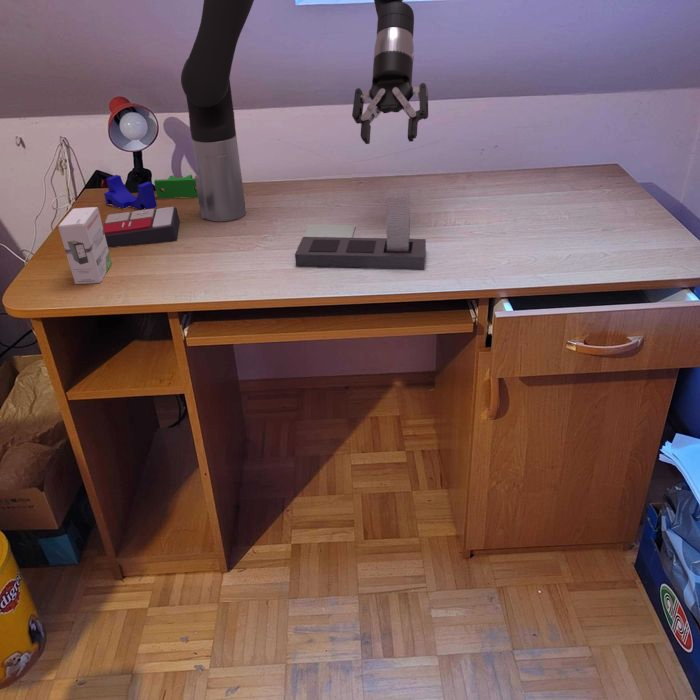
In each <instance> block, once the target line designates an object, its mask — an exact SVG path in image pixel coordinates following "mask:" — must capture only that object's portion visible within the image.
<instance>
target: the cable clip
mask: <svg viewBox="0 0 700 700" xmlns="http://www.w3.org/2000/svg"><path fill="white" fill-rule="evenodd" d="M105 180H106V184H107V188H108V191H106V192H104V193H103V194H104V199H105V202H106V205H107V204H112V205H113V206H112V207H114V206H116V207H115V208H118V207H120V208H119V209H122V208H126V207H128V206H131V207H130V208H132V207H135V208H134V209H136V208H139V209H138V210H140V209H144V208H145V210H146V209H152V208H154V209H156V208H157V207H158V206H157V205H158V204H157V199H156V195H155V192H154V185H153V182H150V181H146V182H143V183H141V184H138V185H137V196H135V195H134V194H132V193H131V192H130V191H129V190H128V189H127V188H126V186H125V184H124V183H123V179H122V177H121V175H118V174H115V175H112V176H109V177H107V178H105ZM156 206H157V207H156ZM155 207H156V208H155ZM128 208H129V207H128ZM126 209H127V208H126Z"/></svg>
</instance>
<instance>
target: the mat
mask: <svg viewBox="0 0 700 700" xmlns="http://www.w3.org/2000/svg"><path fill="white" fill-rule="evenodd" d="M355 231H356V225H355V224H308V225H307V227H306V229H305V231H304V233H303V236H302V238H303V237H344V238H354V237H353V236H354V233H355Z"/></svg>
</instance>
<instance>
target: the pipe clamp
mask: <svg viewBox="0 0 700 700" xmlns="http://www.w3.org/2000/svg"><path fill="white" fill-rule="evenodd" d="M153 183H154V188H155V191H156V192H155V193H156V196H157V197H156V198H157V199H158V198H172V199H175V198H174V197H178V198H177V199H180V198H179V197H198V194H197V188H196V182H195V177H193V175H192V174H188V175H186V176H183V177H175V176H174V175H170V176H169V177H168V178H164V179H162V178H161V179H154V181H153ZM162 189H163V190H162Z"/></svg>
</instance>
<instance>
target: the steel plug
mask: <svg viewBox="0 0 700 700" xmlns="http://www.w3.org/2000/svg"><path fill="white" fill-rule="evenodd" d="M385 203H386V238H387V253H409V249H410V239H411V236H410V235H411V230H410V229H411V189H388V190H387V193H386V202H385Z"/></svg>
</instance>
